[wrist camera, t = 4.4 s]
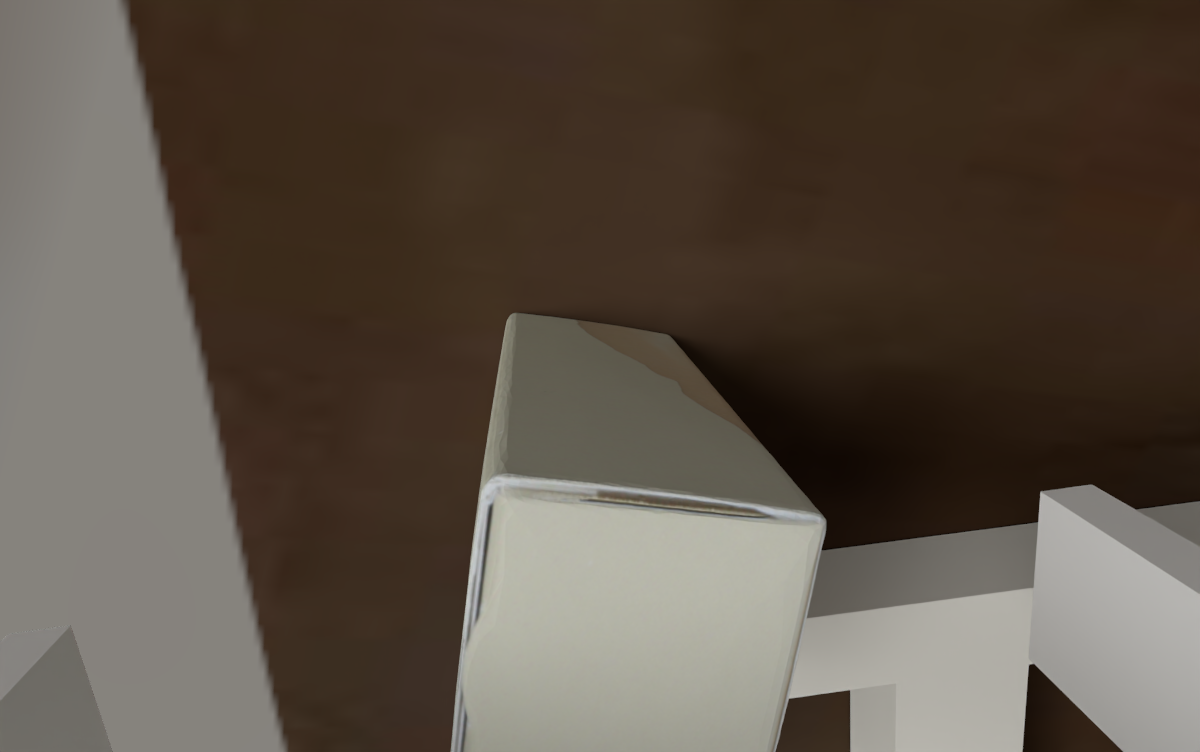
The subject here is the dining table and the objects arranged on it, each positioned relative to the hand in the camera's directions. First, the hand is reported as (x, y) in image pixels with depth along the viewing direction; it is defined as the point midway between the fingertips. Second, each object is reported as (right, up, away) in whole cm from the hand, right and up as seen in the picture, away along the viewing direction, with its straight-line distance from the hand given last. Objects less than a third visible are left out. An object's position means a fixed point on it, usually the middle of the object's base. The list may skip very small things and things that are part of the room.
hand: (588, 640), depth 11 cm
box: (0, +3, +10) cm, 10 cm away
